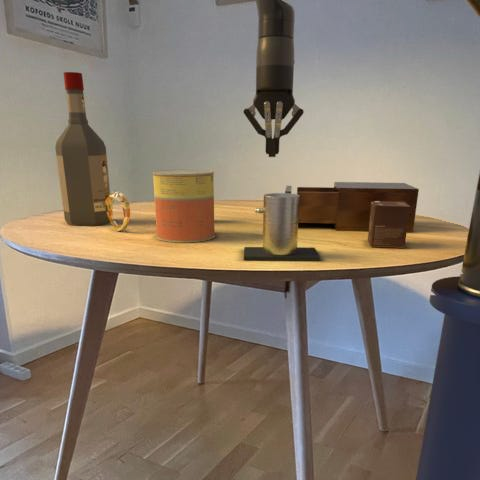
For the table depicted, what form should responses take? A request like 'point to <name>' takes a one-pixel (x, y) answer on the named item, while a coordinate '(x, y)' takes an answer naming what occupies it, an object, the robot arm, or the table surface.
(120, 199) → the ring
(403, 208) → the box
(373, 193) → the cabinet
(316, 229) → the table surface
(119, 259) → the table surface
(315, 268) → the table surface
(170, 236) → the canned food
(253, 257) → the trivet
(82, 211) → the liquor
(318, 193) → the drawer
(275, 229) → the measuring cup
